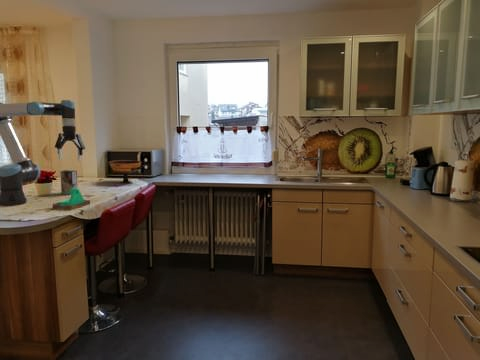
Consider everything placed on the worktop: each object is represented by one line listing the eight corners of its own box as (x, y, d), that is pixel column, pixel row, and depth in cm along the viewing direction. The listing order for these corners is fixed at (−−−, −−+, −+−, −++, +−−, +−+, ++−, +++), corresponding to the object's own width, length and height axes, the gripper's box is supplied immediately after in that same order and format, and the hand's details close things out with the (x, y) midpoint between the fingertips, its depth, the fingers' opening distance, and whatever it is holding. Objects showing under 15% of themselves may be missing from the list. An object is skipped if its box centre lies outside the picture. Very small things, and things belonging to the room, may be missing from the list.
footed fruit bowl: (97, 182, 307) (97, 161, 304) (118, 178, 330) (118, 159, 327) (133, 187, 293) (133, 164, 290) (152, 182, 316) (152, 161, 314)
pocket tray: (52, 208, 219) (52, 204, 219) (72, 202, 235) (71, 198, 235) (71, 210, 216) (71, 206, 216) (90, 203, 232) (89, 200, 232)
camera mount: (73, 202, 232) (72, 186, 230) (84, 203, 230) (83, 187, 229) (59, 206, 221) (58, 189, 219) (70, 207, 219) (70, 190, 217)
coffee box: (78, 192, 265) (77, 170, 262) (73, 194, 259) (72, 171, 256) (66, 192, 266) (65, 169, 264) (61, 193, 260) (59, 171, 257)
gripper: (47, 125, 229) (49, 159, 232) (82, 126, 223) (84, 161, 226) (55, 125, 236) (57, 158, 239) (90, 126, 230) (91, 160, 233)
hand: (70, 160), depth 233 cm, fingers open, 13 cm apart
